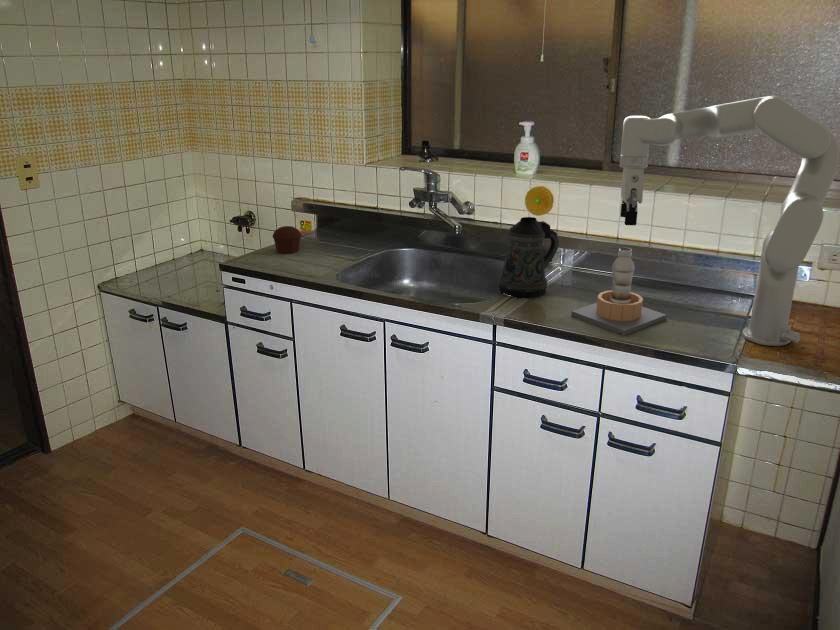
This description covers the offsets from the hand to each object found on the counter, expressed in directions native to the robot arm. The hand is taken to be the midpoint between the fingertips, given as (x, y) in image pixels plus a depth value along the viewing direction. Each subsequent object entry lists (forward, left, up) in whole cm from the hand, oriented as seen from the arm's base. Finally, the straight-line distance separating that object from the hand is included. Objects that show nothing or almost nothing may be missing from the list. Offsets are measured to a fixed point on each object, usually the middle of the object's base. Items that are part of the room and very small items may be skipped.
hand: (628, 220), depth 207 cm
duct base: (0, 0, -30) cm, 30 cm away
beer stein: (+36, +4, -31) cm, 47 cm away
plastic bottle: (0, 0, -29) cm, 29 cm away
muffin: (+130, +45, -31) cm, 141 cm away
